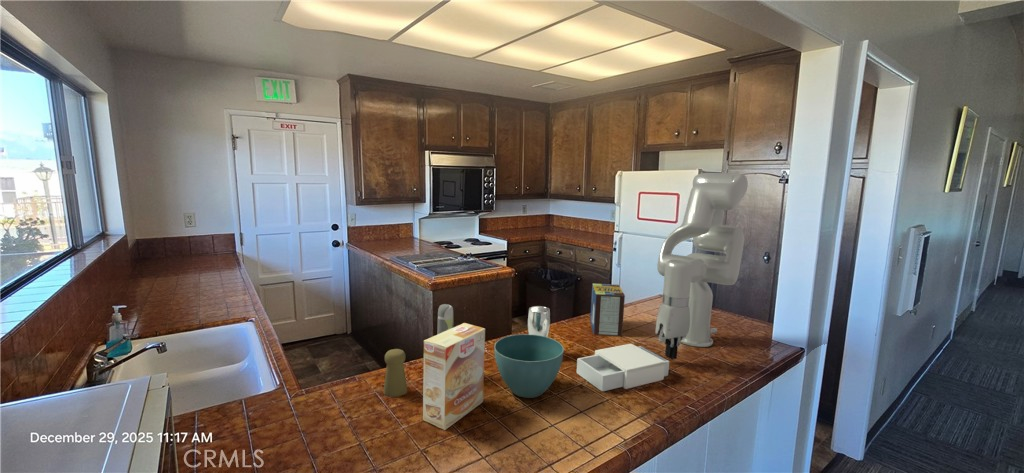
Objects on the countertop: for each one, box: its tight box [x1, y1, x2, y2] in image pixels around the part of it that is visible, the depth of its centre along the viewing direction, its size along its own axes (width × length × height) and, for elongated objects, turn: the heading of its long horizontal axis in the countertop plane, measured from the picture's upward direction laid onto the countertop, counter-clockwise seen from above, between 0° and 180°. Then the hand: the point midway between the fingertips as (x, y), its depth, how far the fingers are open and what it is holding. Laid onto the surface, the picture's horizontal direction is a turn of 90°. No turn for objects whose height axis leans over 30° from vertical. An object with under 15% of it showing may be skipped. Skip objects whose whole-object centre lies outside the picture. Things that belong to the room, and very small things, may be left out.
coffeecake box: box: [422, 322, 486, 431], centre depth 102 cm, size 15×7×20 cm, turn 148°
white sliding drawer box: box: [576, 345, 670, 392], centre depth 125 cm, size 24×12×4 cm, turn 116°
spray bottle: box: [436, 303, 455, 335], centre depth 121 cm, size 5×5×20 cm
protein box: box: [589, 283, 626, 337], centre depth 162 cm, size 10×15×16 cm
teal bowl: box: [493, 333, 565, 399], centre depth 113 cm, size 18×18×12 cm
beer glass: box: [527, 305, 551, 337], centre depth 136 cm, size 7×7×15 cm
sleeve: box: [594, 343, 665, 390], centre depth 126 cm, size 14×14×6 cm
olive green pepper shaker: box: [382, 348, 408, 398], centre depth 111 cm, size 6×6×11 cm
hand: (670, 357), depth 133 cm, fingers closed
